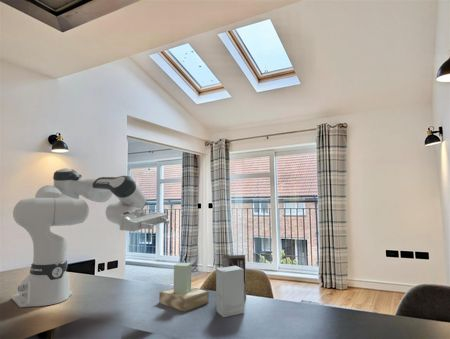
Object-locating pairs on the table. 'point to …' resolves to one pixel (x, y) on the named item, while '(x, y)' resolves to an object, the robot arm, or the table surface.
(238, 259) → the coffee box
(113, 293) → the table surface
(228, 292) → the skincare box
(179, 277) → the sage block
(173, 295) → the oak box
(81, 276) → the table surface
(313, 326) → the table surface
